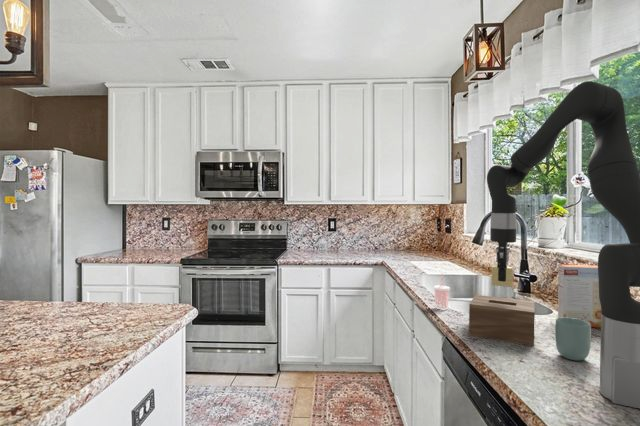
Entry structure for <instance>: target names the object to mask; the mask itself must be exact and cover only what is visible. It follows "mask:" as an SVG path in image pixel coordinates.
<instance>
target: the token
mask: <svg viewBox="0 0 640 426" xmlns="http://www.w3.org/2000/svg"><path fill="white" fill-rule="evenodd" d="M513 281H514V267H512V266H511V267H510V266H507V269H506V281H505V282H503V281H499V280H498V268H497V265H492V267H491V286H494V287H495V286H496V287H506V288H507V287H509V288H513V287H514V285H513V284H514V283H513Z"/></svg>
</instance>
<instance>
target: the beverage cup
mask: <svg viewBox="0 0 640 426" xmlns="http://www.w3.org/2000/svg"><path fill="white" fill-rule="evenodd" d="M443 275H444V274H443V273H442V274H441V276H440V279H441V280H440V282H441V285H438V284H437V285H434V286H433V288H434V302H435V303H434V304H435V305H434V306H435V307H436V308H437V309H448V307H449V296H450V290H451V287H450V286H447V285H443V278H444V277H443ZM437 309H436V310H437Z"/></svg>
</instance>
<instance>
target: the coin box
mask: <svg viewBox="0 0 640 426" xmlns="http://www.w3.org/2000/svg"><path fill="white" fill-rule="evenodd" d="M468 311H469V312H468V313H469V315H468V335H469V336H470V337H471V336H473V337H479V338H483V339H484V338H485V339H490V340H496V341H500V342H501V341H502V342H507V343H514V344H519V345H526V346H533V347H534V346H535V311H536V310H535V301H533V300H524V299H517V298H506V297H501V296H500V297H499V296H490V295H484V294H483V295H482V294H474V297H473V298H472V299H471V301H470V302H469V310H468Z"/></svg>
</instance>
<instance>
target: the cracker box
mask: <svg viewBox="0 0 640 426" xmlns="http://www.w3.org/2000/svg"><path fill="white" fill-rule="evenodd" d="M557 267H558V268H557V272H558V273H557V274H558V275H557V277H558V278H557V286H558V287H557V291H558V292H557V297H558V298H557V299H558V301H557V318H560V317H569V318H576V319H580V320H584V321H587V322H589V323H590V324H591V328H595V329H596V328H599V329H601V304H600V300H599V280H598V265H588V264H587V265H586V264H558V265H557Z"/></svg>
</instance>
